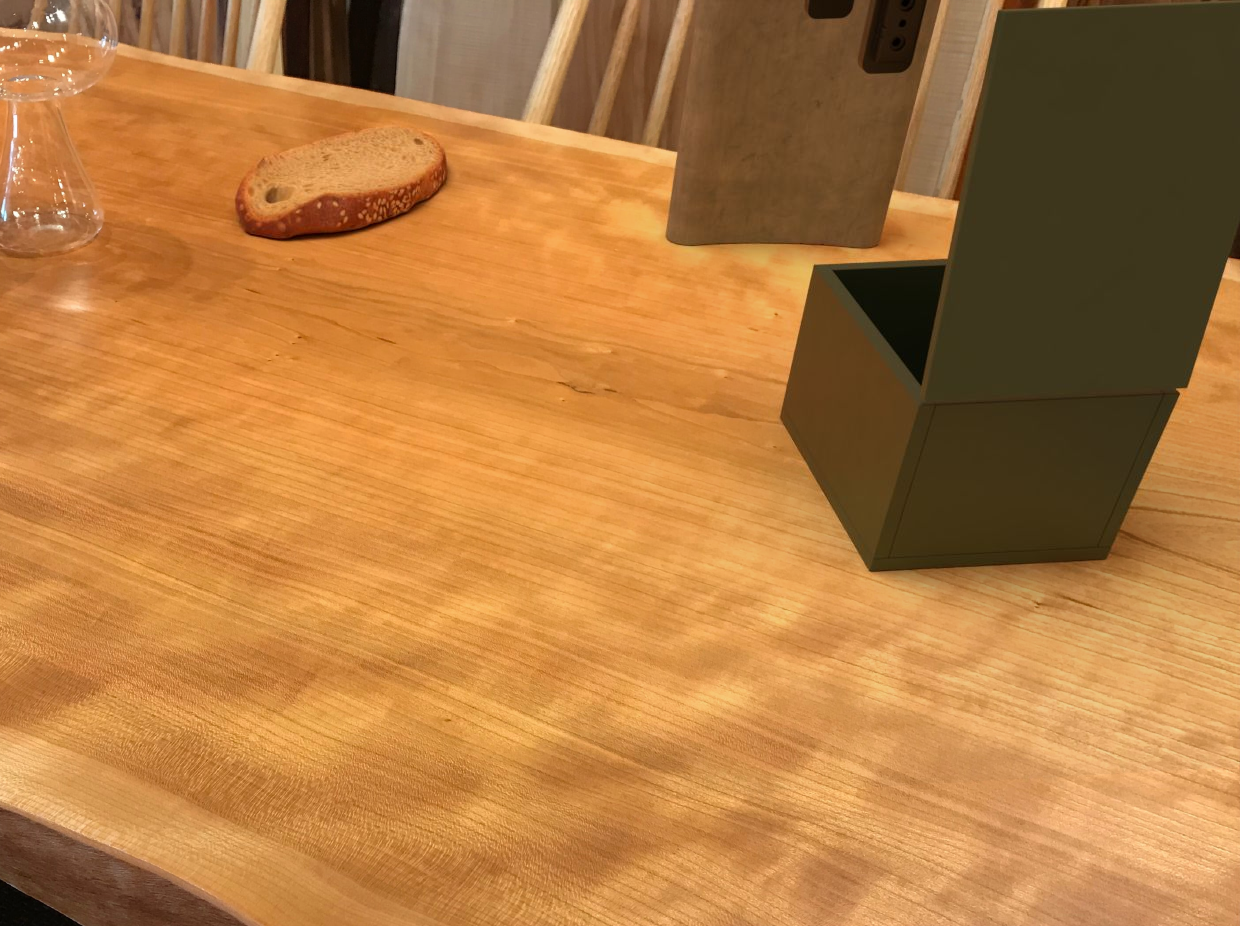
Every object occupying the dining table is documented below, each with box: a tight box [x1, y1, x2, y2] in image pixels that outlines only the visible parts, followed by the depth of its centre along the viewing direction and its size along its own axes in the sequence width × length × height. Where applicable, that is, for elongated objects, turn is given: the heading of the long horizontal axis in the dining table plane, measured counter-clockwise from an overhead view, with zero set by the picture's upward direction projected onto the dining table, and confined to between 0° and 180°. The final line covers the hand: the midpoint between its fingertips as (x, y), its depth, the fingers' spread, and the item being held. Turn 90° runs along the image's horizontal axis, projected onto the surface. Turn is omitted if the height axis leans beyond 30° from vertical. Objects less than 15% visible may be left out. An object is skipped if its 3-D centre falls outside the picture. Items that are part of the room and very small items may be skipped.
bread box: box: [779, 258, 1181, 572], centre depth 71 cm, size 16×13×10 cm
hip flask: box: [665, 0, 942, 249], centre depth 93 cm, size 16×4×20 cm, turn 85°
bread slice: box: [234, 123, 448, 239], centre depth 106 cm, size 18×18×4 cm
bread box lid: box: [920, 0, 1240, 401], centre depth 57 cm, size 16×13×1 cm
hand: (852, 42), depth 61 cm, fingers open, 8 cm apart
